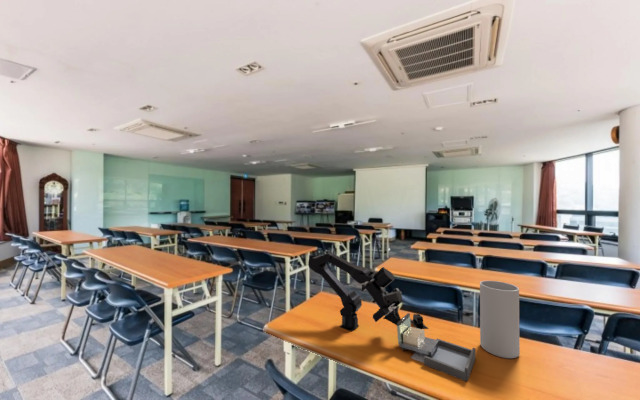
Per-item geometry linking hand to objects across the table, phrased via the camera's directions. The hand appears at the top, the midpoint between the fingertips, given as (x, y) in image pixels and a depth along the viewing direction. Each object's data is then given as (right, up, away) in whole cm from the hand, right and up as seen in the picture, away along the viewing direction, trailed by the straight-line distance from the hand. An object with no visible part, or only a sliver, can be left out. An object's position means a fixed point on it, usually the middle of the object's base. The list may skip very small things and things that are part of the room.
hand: (402, 327), depth 103 cm
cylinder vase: (+37, -7, -4) cm, 37 cm away
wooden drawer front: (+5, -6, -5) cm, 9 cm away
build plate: (+13, -8, +17) cm, 23 cm away
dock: (+12, -8, -10) cm, 17 cm away
